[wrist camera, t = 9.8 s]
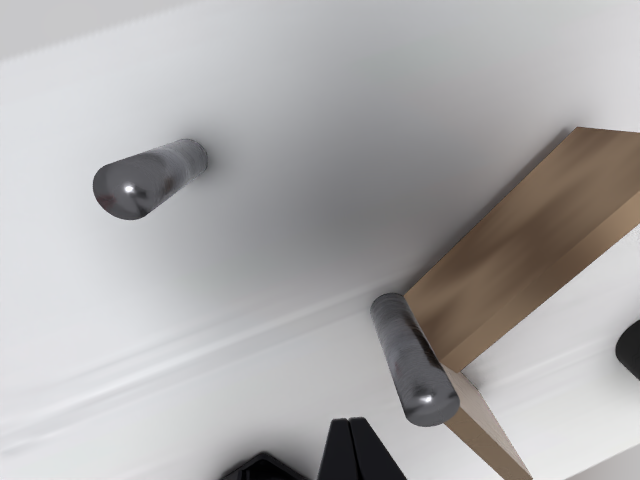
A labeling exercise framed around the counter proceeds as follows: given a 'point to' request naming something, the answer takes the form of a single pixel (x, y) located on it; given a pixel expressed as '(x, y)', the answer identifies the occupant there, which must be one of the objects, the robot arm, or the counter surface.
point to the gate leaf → (530, 244)
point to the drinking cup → (630, 349)
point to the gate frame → (387, 313)
